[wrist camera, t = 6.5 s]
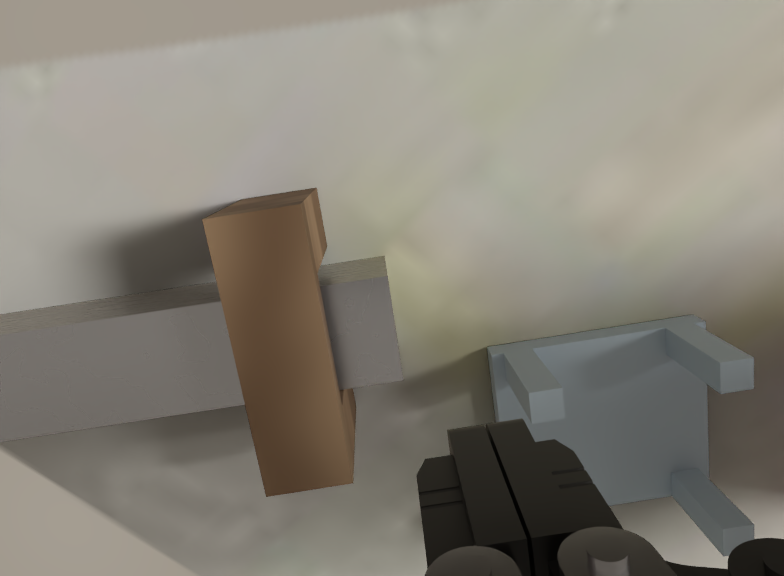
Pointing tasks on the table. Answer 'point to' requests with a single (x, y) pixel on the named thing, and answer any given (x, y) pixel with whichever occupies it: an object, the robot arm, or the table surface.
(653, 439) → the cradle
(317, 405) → the wooden arch block
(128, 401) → the steel bar
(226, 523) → the table surface
